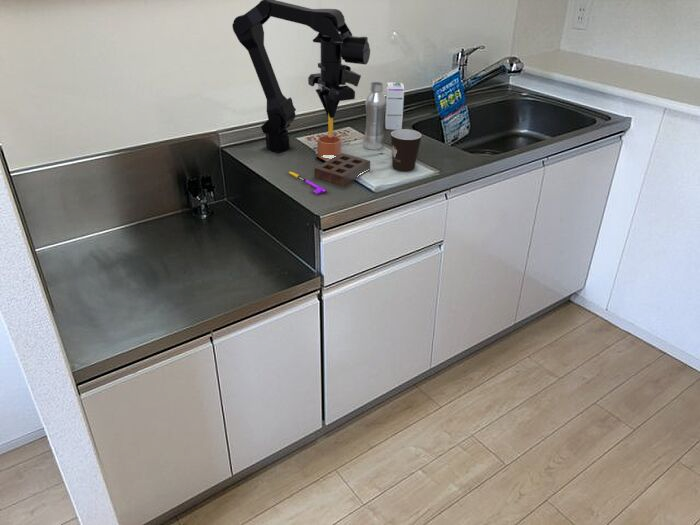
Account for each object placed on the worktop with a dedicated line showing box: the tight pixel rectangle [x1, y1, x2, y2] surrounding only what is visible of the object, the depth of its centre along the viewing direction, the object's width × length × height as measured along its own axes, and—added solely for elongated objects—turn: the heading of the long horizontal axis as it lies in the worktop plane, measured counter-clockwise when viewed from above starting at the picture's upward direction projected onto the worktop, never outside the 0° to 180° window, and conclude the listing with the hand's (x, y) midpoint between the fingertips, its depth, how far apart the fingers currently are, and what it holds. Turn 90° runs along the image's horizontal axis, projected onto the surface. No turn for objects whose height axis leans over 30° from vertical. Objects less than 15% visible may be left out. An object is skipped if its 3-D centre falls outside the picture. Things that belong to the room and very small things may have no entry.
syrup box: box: [384, 81, 405, 131], centre depth 189 cm, size 6×6×14 cm
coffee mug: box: [390, 128, 422, 173], centre depth 162 cm, size 12×9×10 cm
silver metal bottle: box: [362, 81, 386, 151], centre depth 170 cm, size 6×7×20 cm
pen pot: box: [317, 134, 342, 161], centre depth 168 cm, size 7×7×6 cm
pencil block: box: [313, 152, 371, 188], centre depth 157 cm, size 10×14×4 cm
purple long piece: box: [288, 171, 327, 195], centre depth 152 cm, size 3×1×16 cm
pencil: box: [327, 113, 334, 138], centre depth 161 cm, size 1×1×10 cm
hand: (330, 116), depth 161 cm, fingers closed on pencil, 1 cm apart
